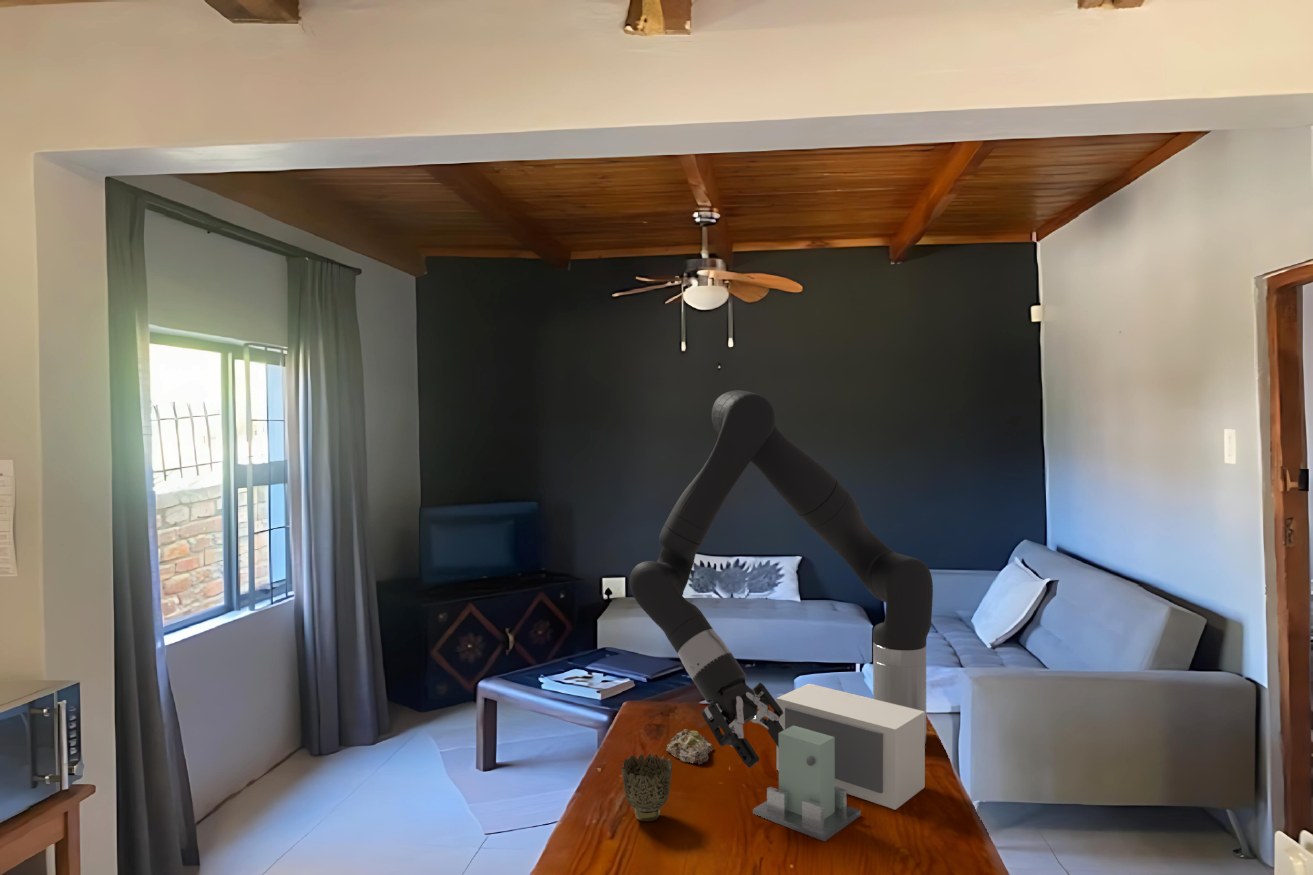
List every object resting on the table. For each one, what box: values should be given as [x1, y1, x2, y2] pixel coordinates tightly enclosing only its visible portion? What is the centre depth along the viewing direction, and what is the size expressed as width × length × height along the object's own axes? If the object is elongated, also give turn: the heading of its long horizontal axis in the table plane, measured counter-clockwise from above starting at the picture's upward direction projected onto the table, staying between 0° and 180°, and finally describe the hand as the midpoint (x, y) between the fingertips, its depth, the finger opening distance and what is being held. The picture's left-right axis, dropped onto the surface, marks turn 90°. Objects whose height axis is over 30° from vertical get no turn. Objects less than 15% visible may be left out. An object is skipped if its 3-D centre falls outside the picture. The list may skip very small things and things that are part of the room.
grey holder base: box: [752, 786, 861, 842], centre depth 122 cm, size 10×12×4 cm
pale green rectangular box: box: [778, 725, 835, 819], centre depth 122 cm, size 5×7×11 cm
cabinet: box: [775, 683, 926, 810], centre depth 134 cm, size 10×21×12 cm, turn 48°
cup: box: [620, 753, 673, 822], centre depth 122 cm, size 8×7×8 cm
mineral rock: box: [665, 729, 714, 765], centre depth 145 cm, size 11×4×8 cm
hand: (771, 755), depth 126 cm, fingers open, 8 cm apart
